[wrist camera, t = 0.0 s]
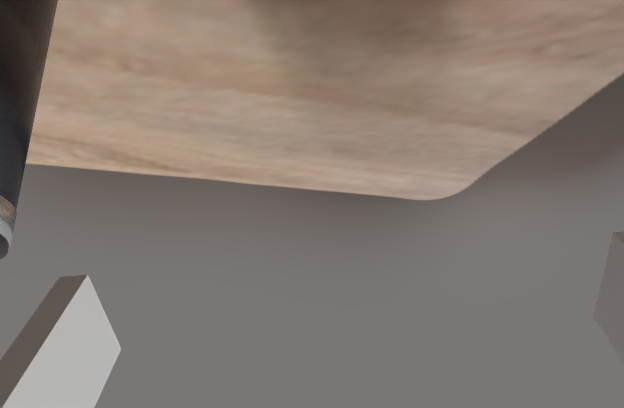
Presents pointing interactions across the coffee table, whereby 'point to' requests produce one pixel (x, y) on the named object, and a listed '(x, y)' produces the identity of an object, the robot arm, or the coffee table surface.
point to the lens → (19, 95)
